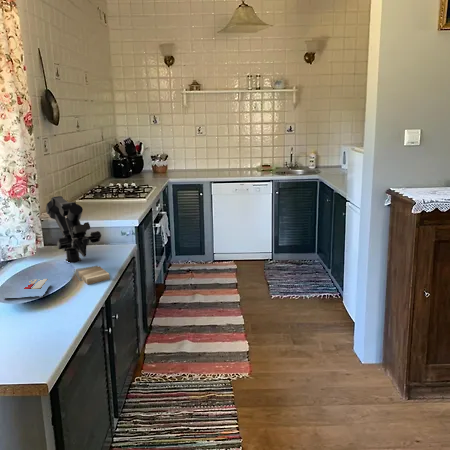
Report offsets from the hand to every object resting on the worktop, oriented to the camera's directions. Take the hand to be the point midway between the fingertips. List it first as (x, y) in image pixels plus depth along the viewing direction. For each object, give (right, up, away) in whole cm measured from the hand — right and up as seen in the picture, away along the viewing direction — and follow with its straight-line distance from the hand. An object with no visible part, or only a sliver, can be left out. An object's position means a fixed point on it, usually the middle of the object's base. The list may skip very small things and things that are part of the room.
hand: (85, 256), depth 207 cm
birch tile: (+2, -7, -1) cm, 7 cm away
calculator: (-18, -14, -18) cm, 29 cm away
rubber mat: (+1, -8, 0) cm, 8 cm away
